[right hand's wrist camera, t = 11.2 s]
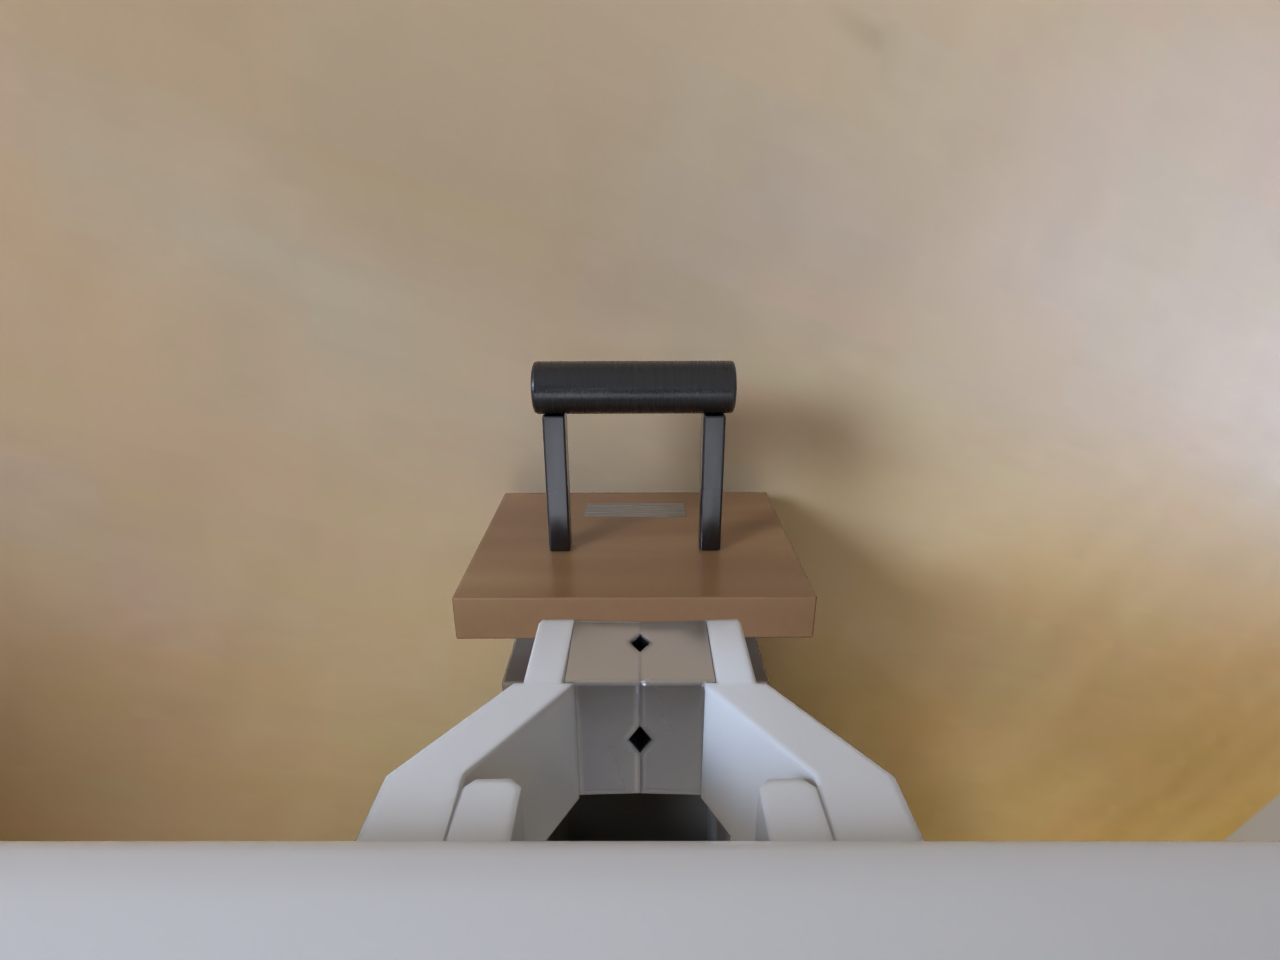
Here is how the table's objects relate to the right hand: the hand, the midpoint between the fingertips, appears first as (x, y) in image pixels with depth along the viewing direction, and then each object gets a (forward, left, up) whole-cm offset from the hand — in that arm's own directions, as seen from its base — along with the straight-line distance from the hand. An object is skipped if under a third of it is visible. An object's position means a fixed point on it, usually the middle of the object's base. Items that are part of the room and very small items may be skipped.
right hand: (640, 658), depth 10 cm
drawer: (+8, -4, -13) cm, 16 cm away
